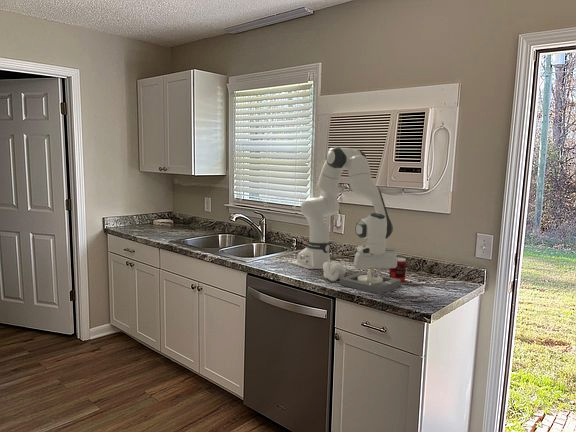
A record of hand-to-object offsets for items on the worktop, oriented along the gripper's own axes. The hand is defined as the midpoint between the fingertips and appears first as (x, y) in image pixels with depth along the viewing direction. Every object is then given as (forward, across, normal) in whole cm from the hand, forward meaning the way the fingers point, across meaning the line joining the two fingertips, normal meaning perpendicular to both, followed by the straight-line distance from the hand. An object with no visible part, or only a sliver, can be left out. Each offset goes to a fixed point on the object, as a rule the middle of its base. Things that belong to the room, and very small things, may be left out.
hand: (375, 277), depth 210 cm
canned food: (+6, -16, -14) cm, 22 cm away
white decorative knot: (+5, +17, -17) cm, 24 cm away
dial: (+4, +1, -5) cm, 6 cm away
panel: (+5, 0, -6) cm, 8 cm away
